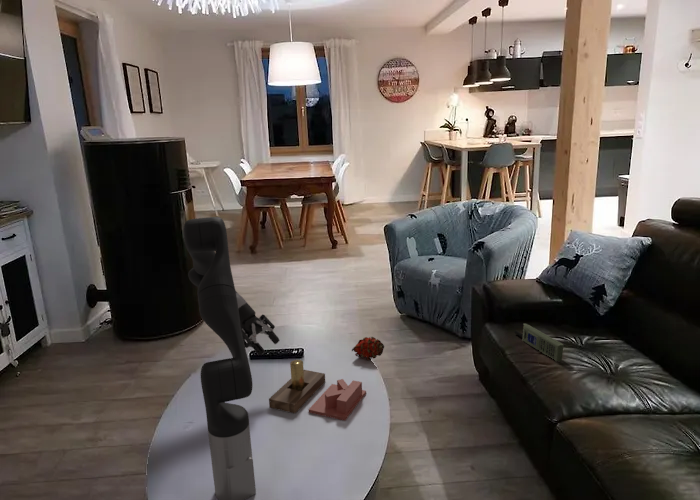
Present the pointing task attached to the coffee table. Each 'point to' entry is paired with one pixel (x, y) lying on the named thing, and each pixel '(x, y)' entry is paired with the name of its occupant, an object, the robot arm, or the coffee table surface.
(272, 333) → the robot arm
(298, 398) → the brown flat block
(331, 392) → the V-block
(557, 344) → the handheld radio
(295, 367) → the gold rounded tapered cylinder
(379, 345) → the dragon fruit
